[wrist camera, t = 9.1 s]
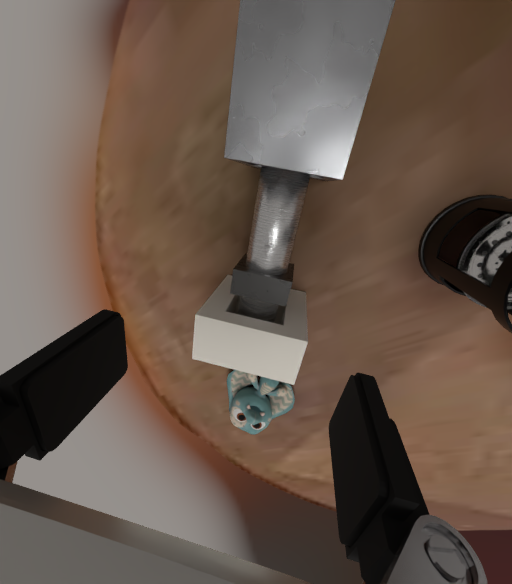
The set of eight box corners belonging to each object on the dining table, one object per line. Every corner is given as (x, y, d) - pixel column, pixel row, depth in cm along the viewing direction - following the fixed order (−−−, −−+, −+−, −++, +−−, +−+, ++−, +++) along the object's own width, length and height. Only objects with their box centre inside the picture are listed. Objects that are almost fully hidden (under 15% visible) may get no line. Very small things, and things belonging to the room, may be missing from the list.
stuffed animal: (319, 401, 30) (271, 466, 33) (311, 369, 37) (272, 425, 40) (242, 360, 29) (200, 430, 32) (248, 335, 36) (213, 395, 39)
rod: (265, 128, 21) (255, 112, 16) (325, 138, 21) (332, 125, 16) (235, 315, 29) (223, 340, 25) (278, 325, 29) (274, 353, 24)
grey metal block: (267, 54, 22) (244, -37, 13) (358, 68, 21) (400, -18, 12) (251, 166, 26) (224, 157, 17) (327, 181, 25) (342, 179, 16)
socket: (227, 274, 31) (195, 314, 22) (305, 292, 30) (307, 342, 21) (223, 308, 33) (192, 358, 24) (296, 326, 32) (293, 384, 23)
